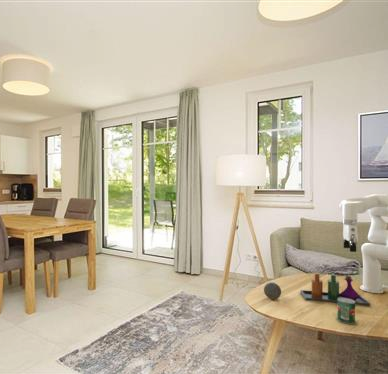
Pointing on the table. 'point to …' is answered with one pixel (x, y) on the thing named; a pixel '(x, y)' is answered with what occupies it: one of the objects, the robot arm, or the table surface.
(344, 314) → the canned tomato
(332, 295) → the green bottle
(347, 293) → the perfume bottle
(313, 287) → the amber bottle
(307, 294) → the tray
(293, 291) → the table surface
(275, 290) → the decorative ball
